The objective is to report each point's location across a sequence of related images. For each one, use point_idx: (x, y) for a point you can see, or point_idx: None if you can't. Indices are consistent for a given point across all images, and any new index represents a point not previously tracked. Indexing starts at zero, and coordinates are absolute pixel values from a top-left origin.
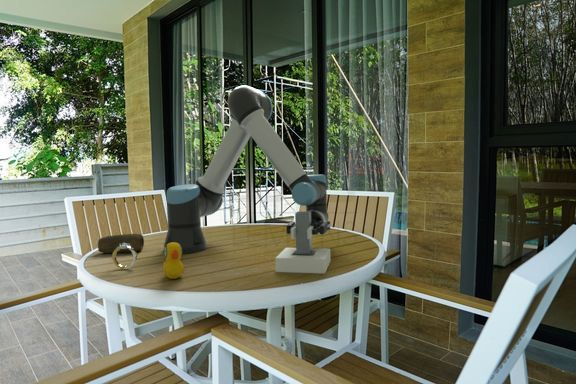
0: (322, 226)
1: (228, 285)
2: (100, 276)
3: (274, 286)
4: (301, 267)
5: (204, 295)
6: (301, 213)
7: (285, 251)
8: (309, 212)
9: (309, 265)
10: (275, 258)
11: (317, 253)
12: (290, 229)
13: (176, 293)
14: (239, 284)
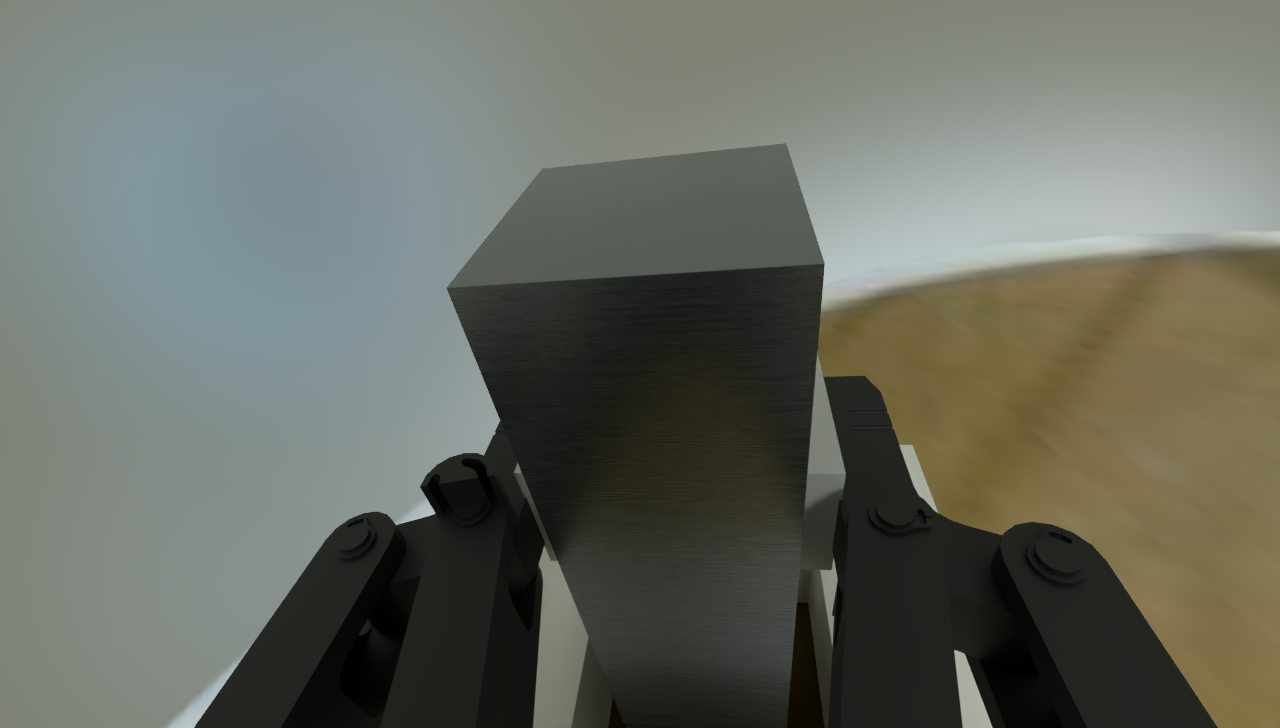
0: (362, 520)
1: (1001, 313)
2: None
3: None
4: None
5: (999, 245)
6: (669, 158)
7: (968, 722)
8: (515, 211)
9: None
10: (911, 448)
11: (564, 622)
12: (859, 380)
13: (1128, 239)
14: (960, 327)
